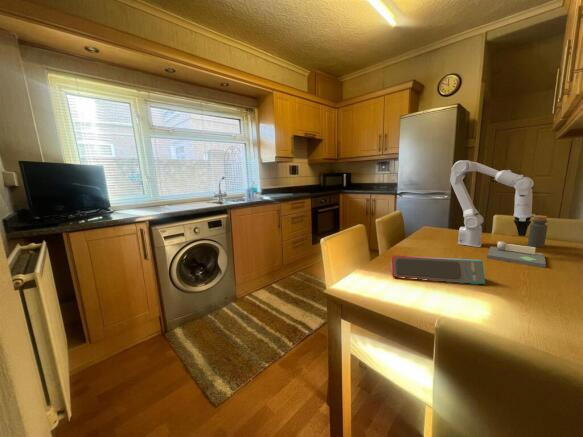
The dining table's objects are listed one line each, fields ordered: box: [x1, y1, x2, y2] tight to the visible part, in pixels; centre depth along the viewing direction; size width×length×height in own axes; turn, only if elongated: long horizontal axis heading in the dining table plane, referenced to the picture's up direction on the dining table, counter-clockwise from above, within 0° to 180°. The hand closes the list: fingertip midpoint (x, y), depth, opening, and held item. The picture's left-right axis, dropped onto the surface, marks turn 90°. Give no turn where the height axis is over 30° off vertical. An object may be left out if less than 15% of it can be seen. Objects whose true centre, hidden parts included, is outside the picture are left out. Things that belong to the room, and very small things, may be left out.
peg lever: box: [496, 240, 543, 255], centre depth 107 cm, size 15×3×3 cm, turn 46°
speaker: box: [390, 254, 486, 285], centre depth 91 cm, size 9×10×30 cm
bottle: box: [527, 214, 548, 249], centre depth 118 cm, size 6×6×15 cm
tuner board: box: [486, 246, 547, 269], centre depth 106 cm, size 18×15×2 cm
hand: (521, 234), depth 110 cm, fingers open, 7 cm apart
